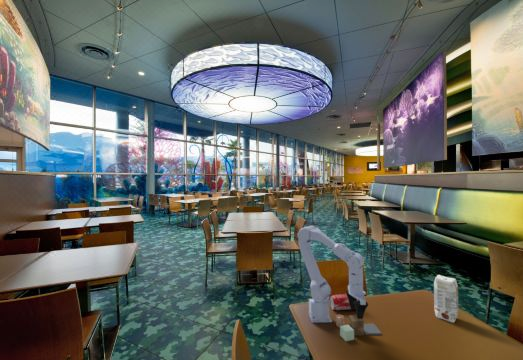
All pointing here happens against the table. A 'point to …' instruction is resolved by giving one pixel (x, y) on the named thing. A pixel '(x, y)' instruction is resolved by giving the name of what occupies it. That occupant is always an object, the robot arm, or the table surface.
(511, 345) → the table surface
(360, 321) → the walnut block
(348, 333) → the pale green cube
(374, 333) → the slate coaster
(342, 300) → the soda can
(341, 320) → the pinkish brown rounded cylinder
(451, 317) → the white food bag
